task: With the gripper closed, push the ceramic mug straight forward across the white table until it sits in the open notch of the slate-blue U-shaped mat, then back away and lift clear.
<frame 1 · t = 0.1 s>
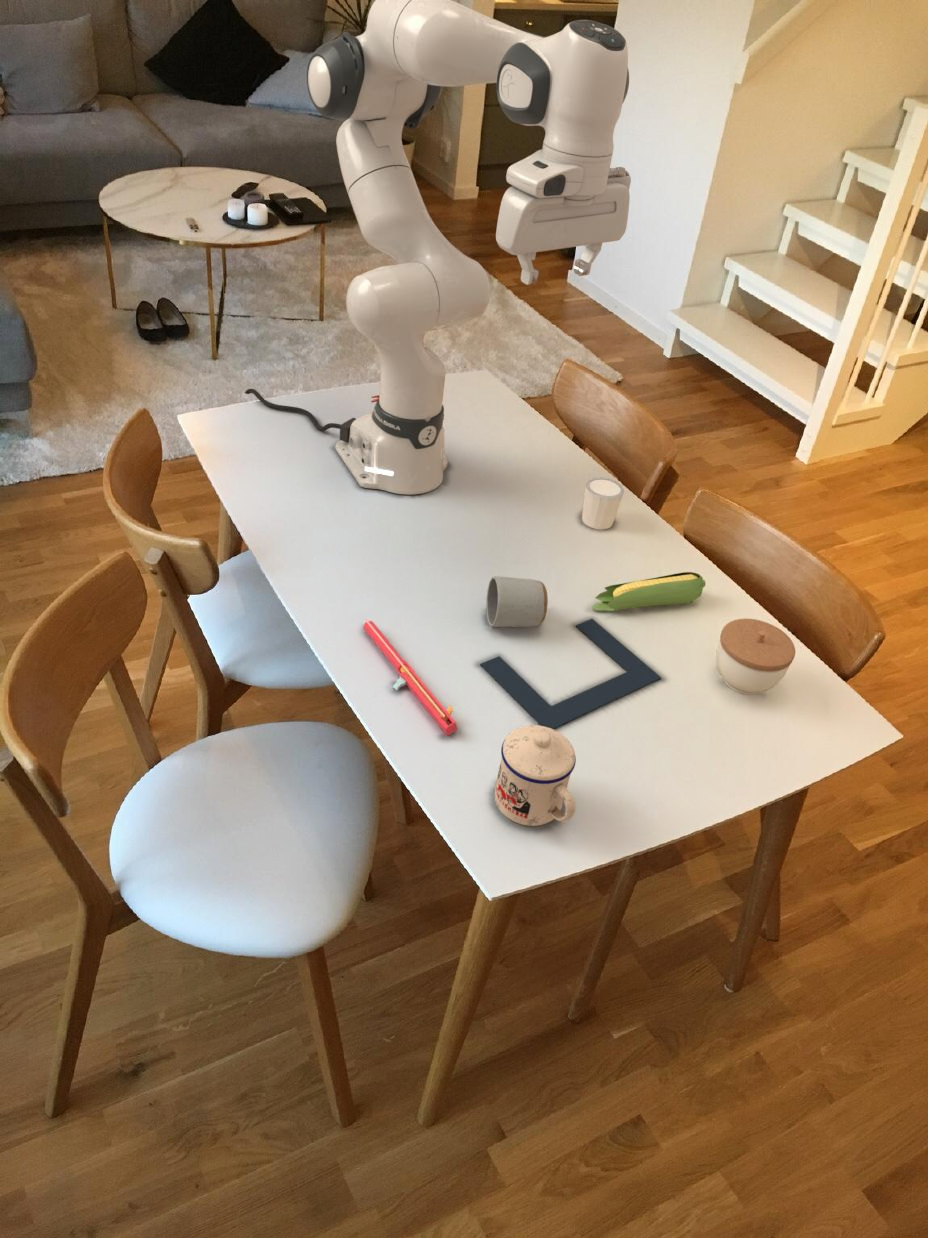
hand: (555, 278, 136), 48 cm above the table, tool pointing down, fingers open, 8 cm apart
ceramic mug: (509, 616, 155), on the table
teacup with lid: (534, 809, 125), on the table
mat: (563, 665, 147), on the table
white faceted cylinder: (596, 521, 179), on the table
trinket box: (742, 681, 149), on the table
edible corn: (645, 604, 162), on the table
red striped bar: (404, 681, 141), on the table
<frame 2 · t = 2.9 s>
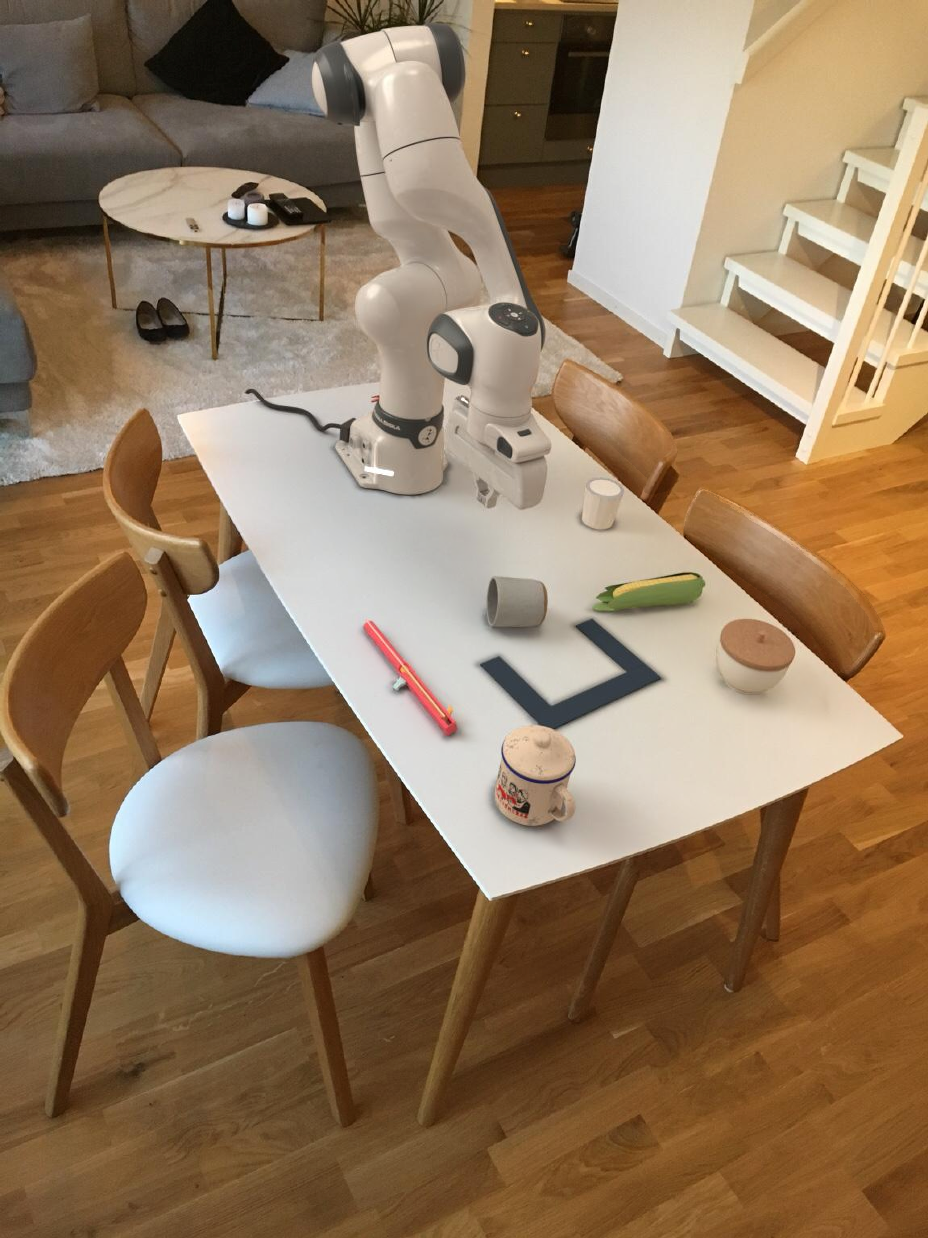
hand: (485, 503, 151), 15 cm above the table, tool pointing down, fingers closed
nothing on the table moved.
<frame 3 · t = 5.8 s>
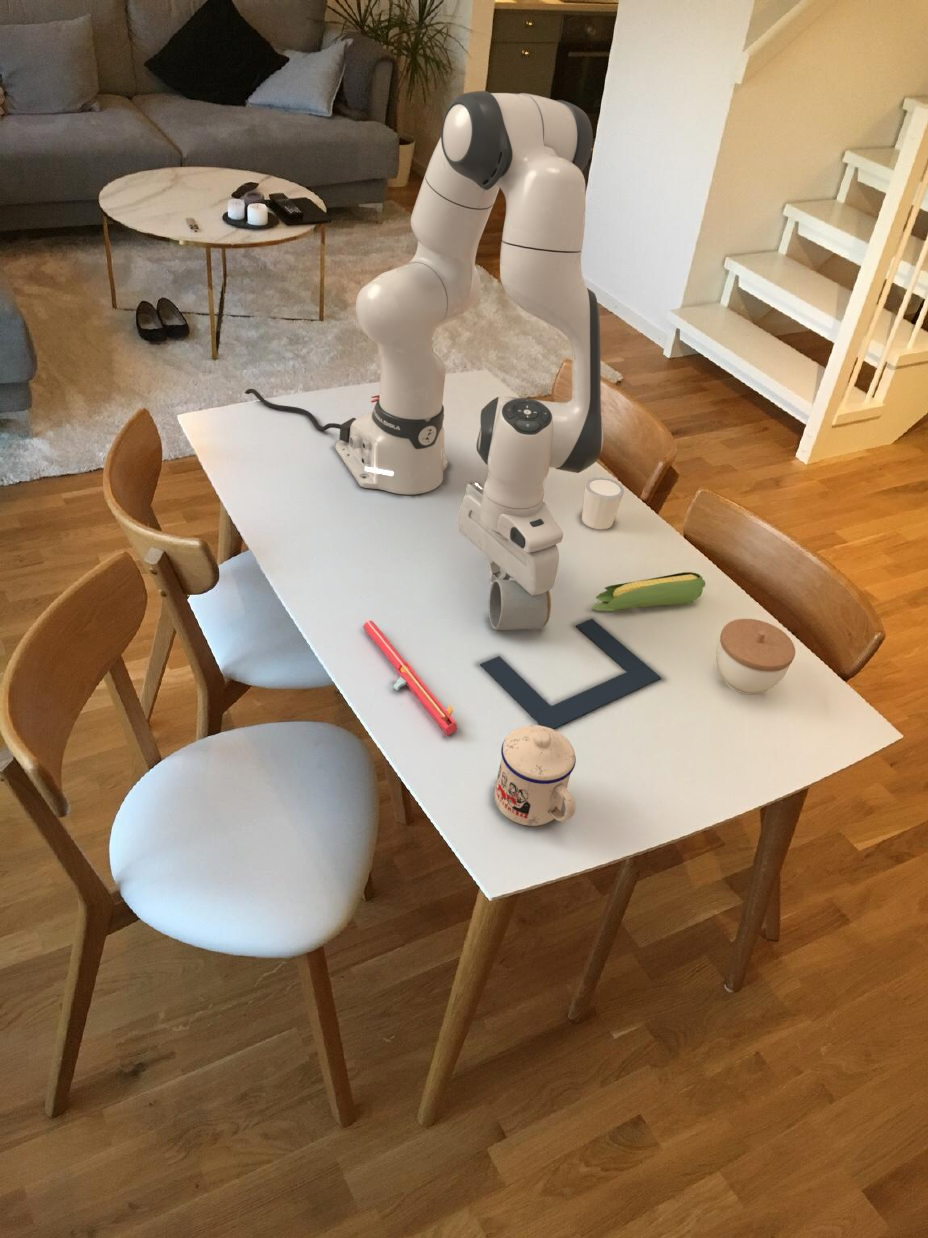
hand: (498, 583, 155), 4 cm above the table, tool pointing down, fingers closed
ceramic mug: (512, 619, 155), on the table, touching gripper
everything else where it was.
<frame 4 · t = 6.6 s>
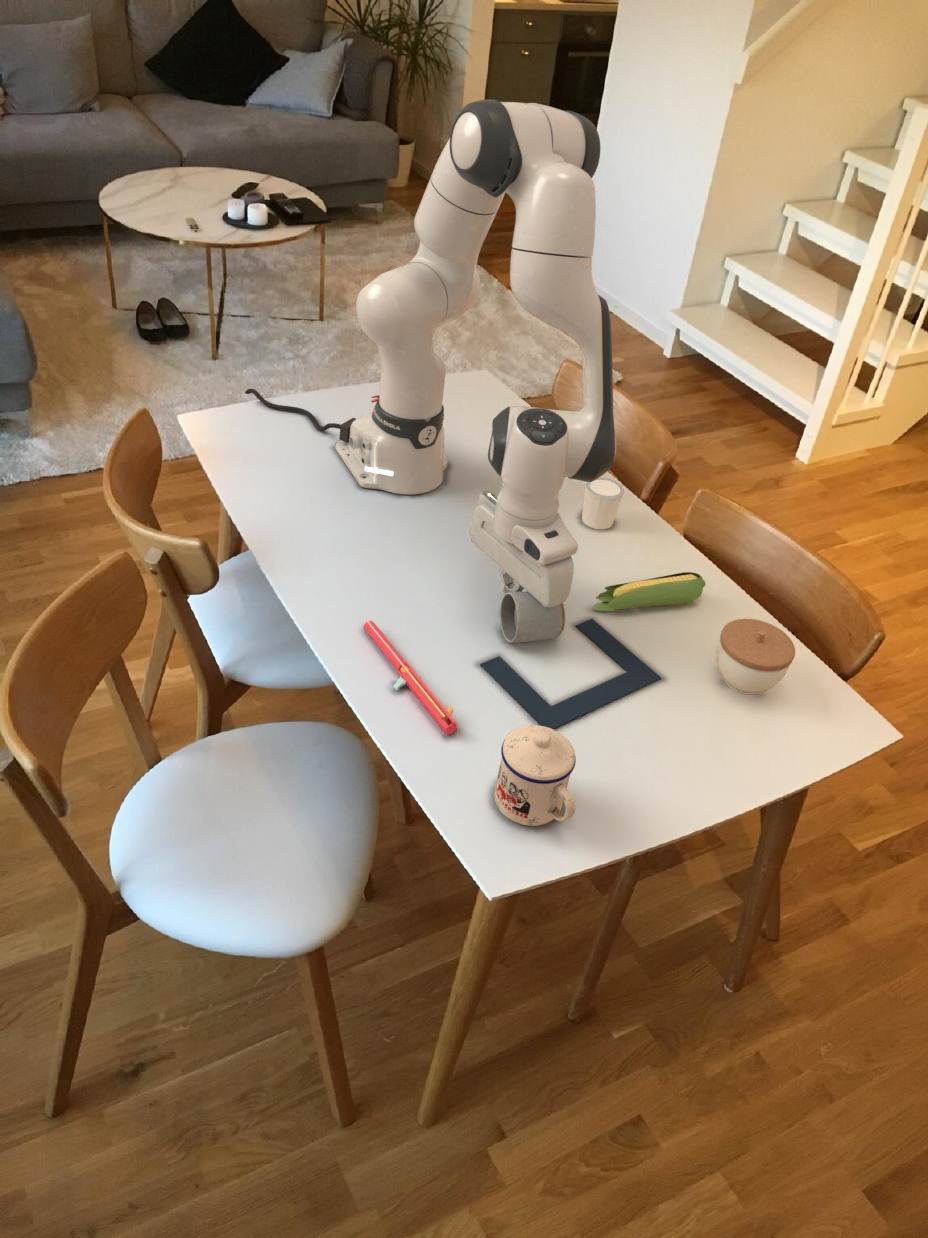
hand: (511, 595, 153), 4 cm above the table, tool pointing down, fingers closed
ceramic mug: (523, 630, 153), on the table, touching gripper
everything else where it was.
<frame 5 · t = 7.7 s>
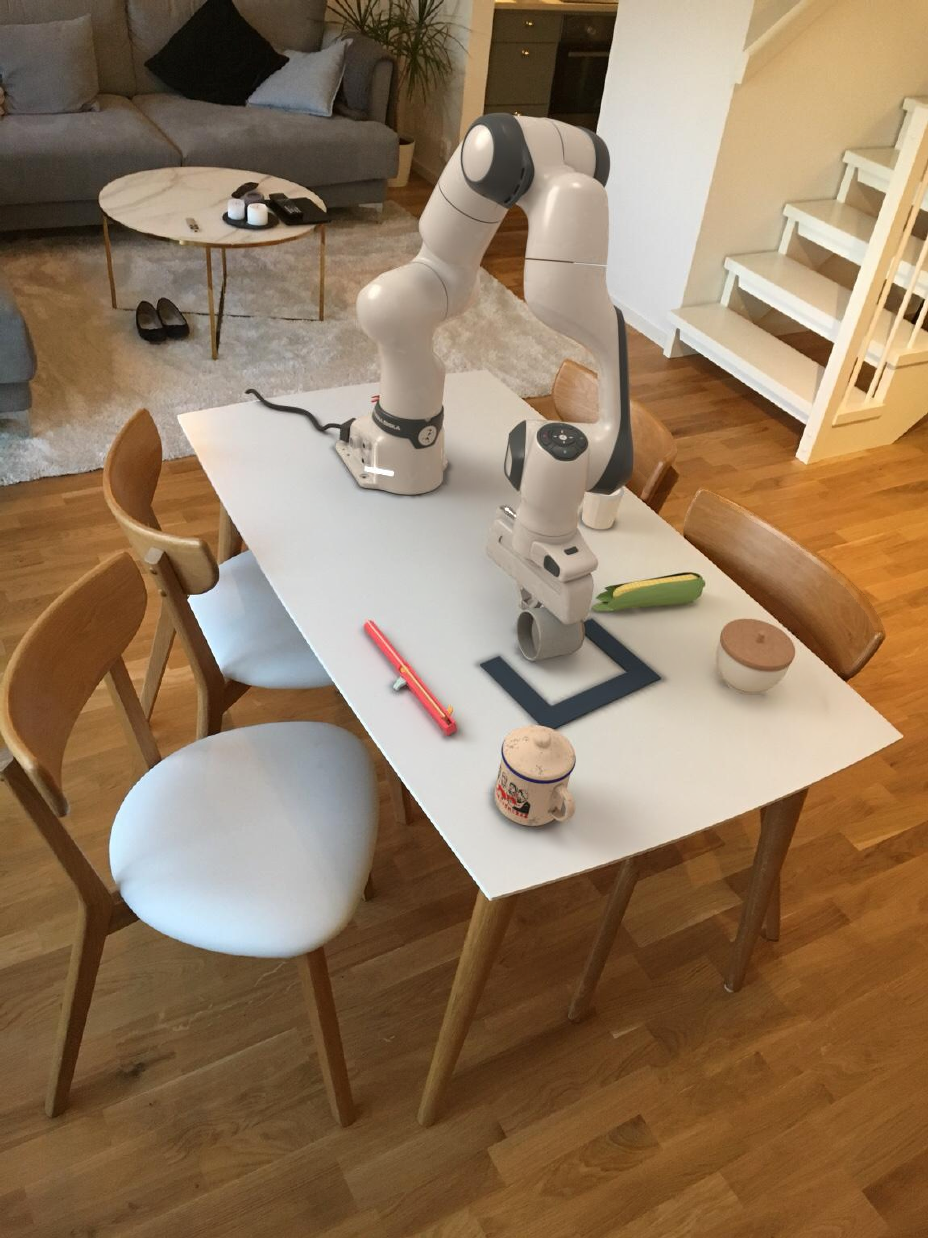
hand: (528, 611, 150), 4 cm above the table, tool pointing down, fingers closed
ceramic mug: (540, 646, 150), on the table, touching gripper
everything else where it was.
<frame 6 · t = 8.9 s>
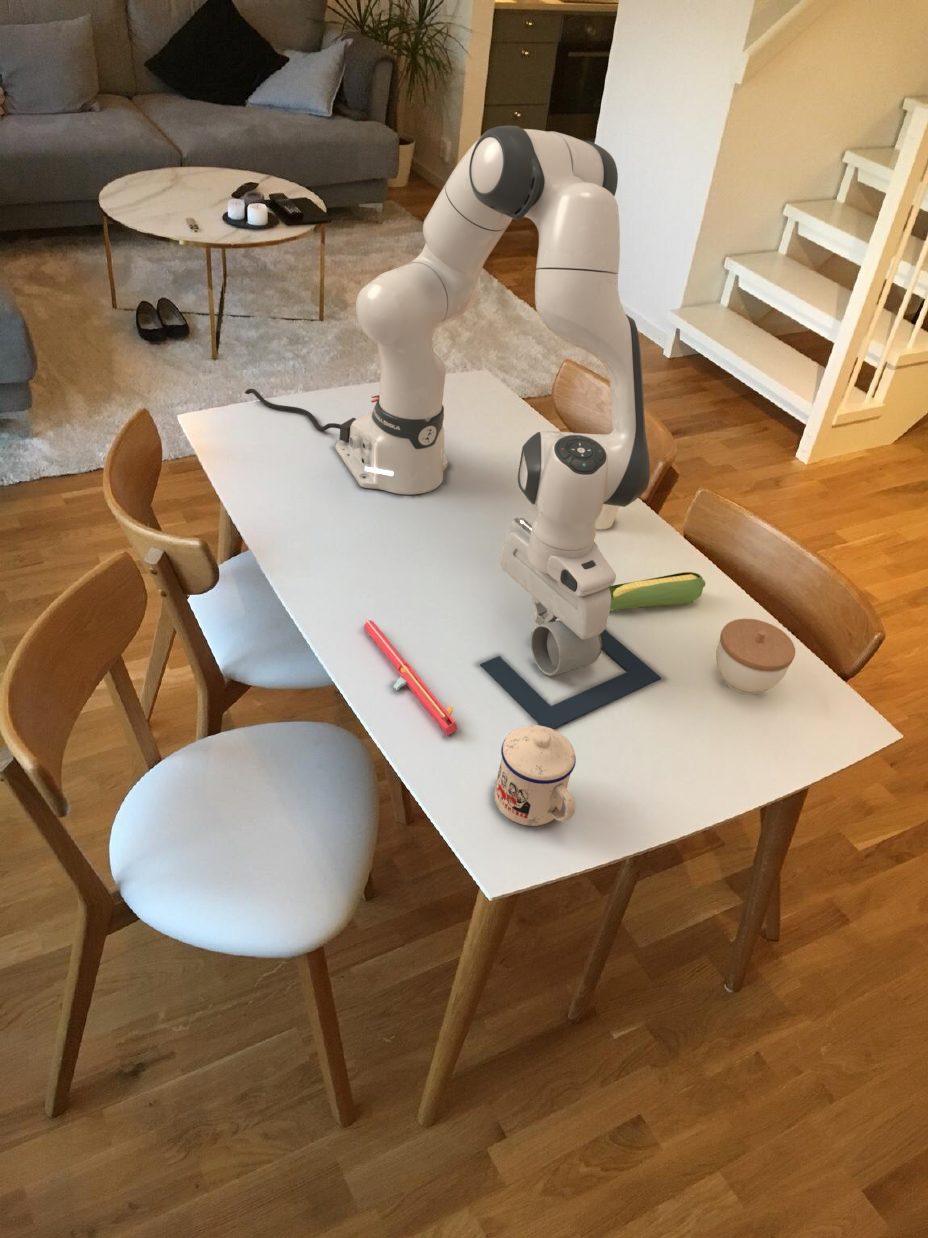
hand: (543, 624, 148), 4 cm above the table, tool pointing down, fingers closed
ceramic mug: (555, 659, 148), on the table, touching gripper
everything else where it was.
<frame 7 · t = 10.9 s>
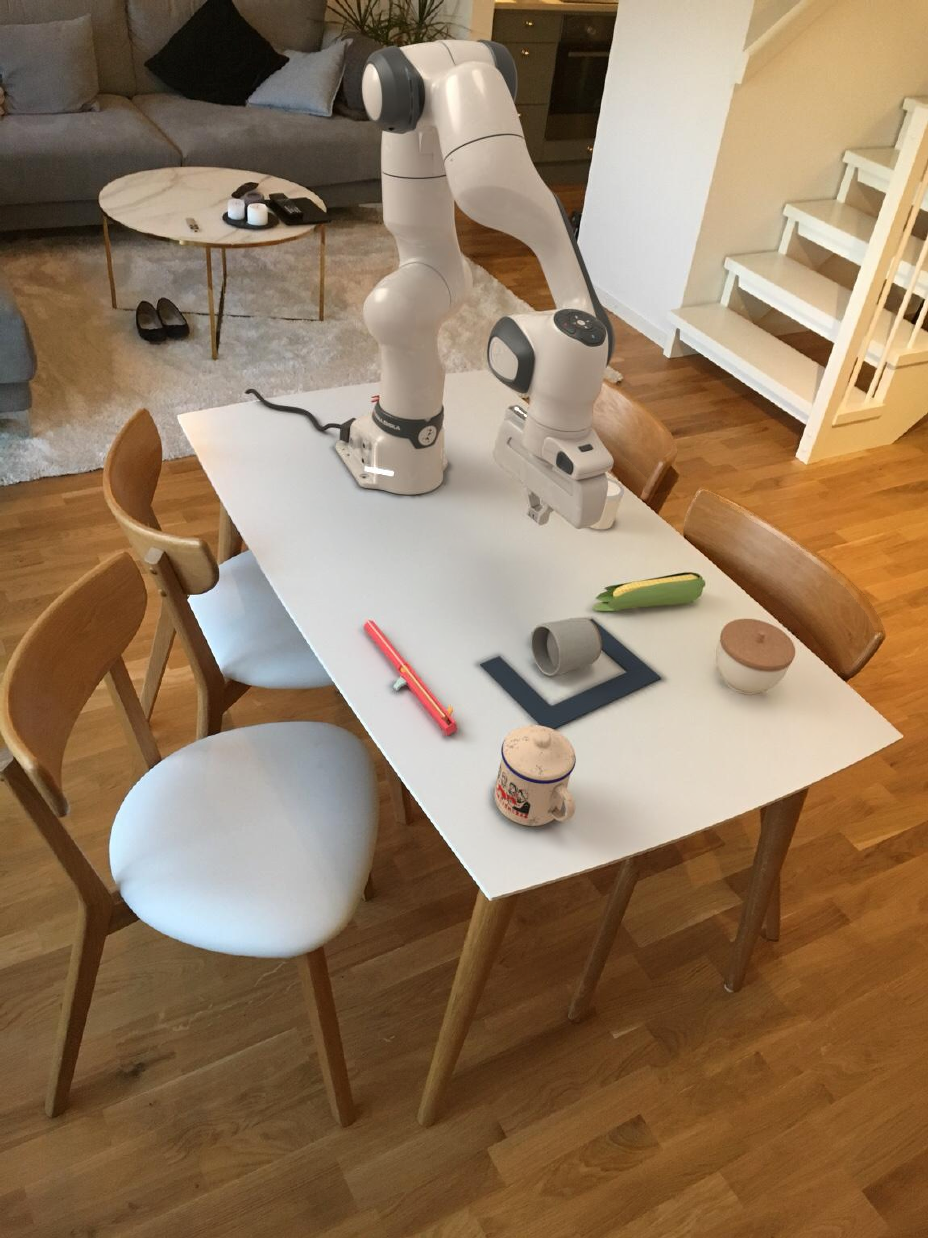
hand: (536, 519, 143), 19 cm above the table, tool pointing down, fingers closed
ceramic mug: (555, 659, 148), on the table
everything else where it was.
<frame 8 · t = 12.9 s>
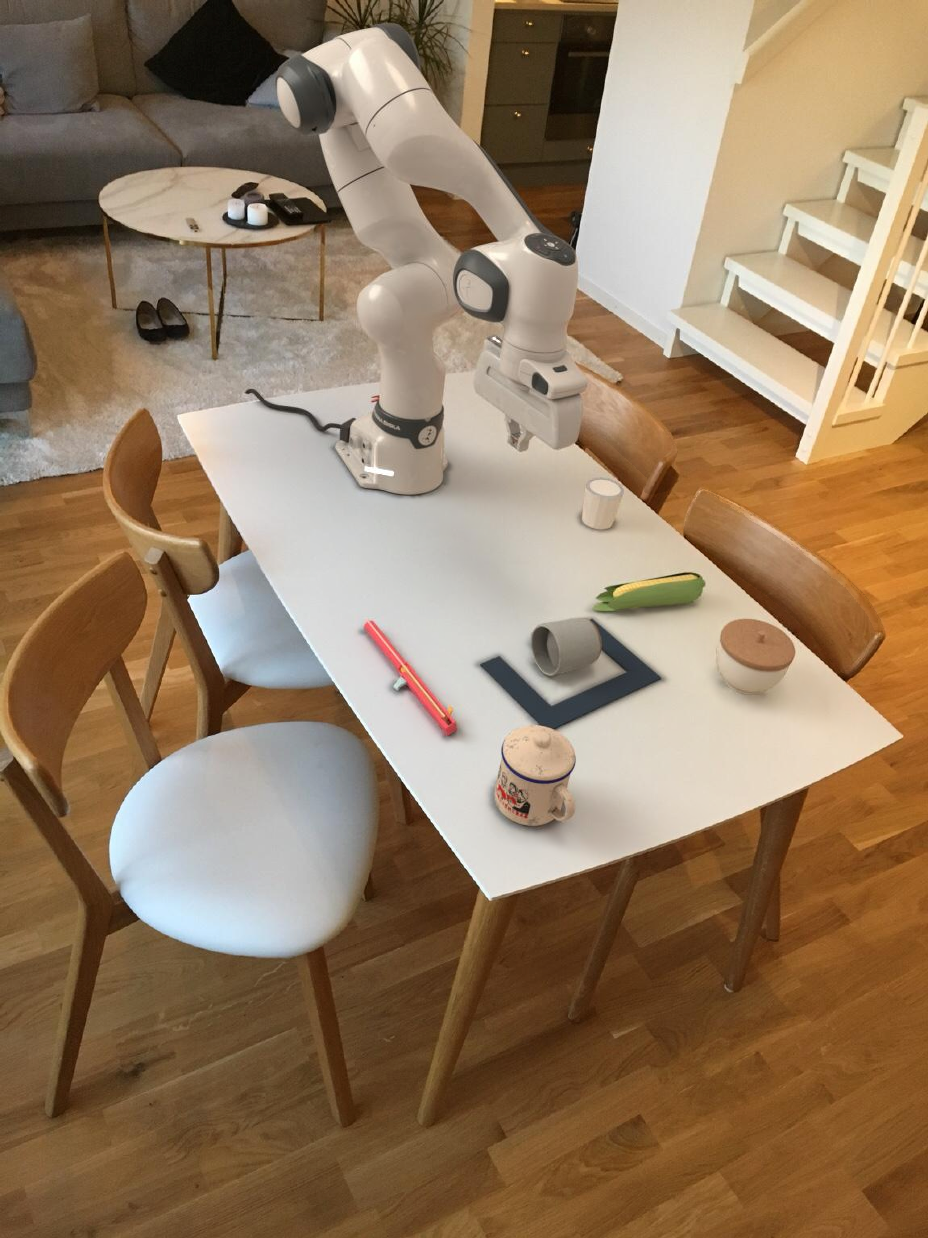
hand: (517, 446, 147), 24 cm above the table, tool pointing down, fingers closed
nothing on the table moved.
at the end: ceramic mug inside the target area on the mat (1.1 cm from its centre), point 0.0 cm above the mat's base; ceramic mug tilted 0° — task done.
